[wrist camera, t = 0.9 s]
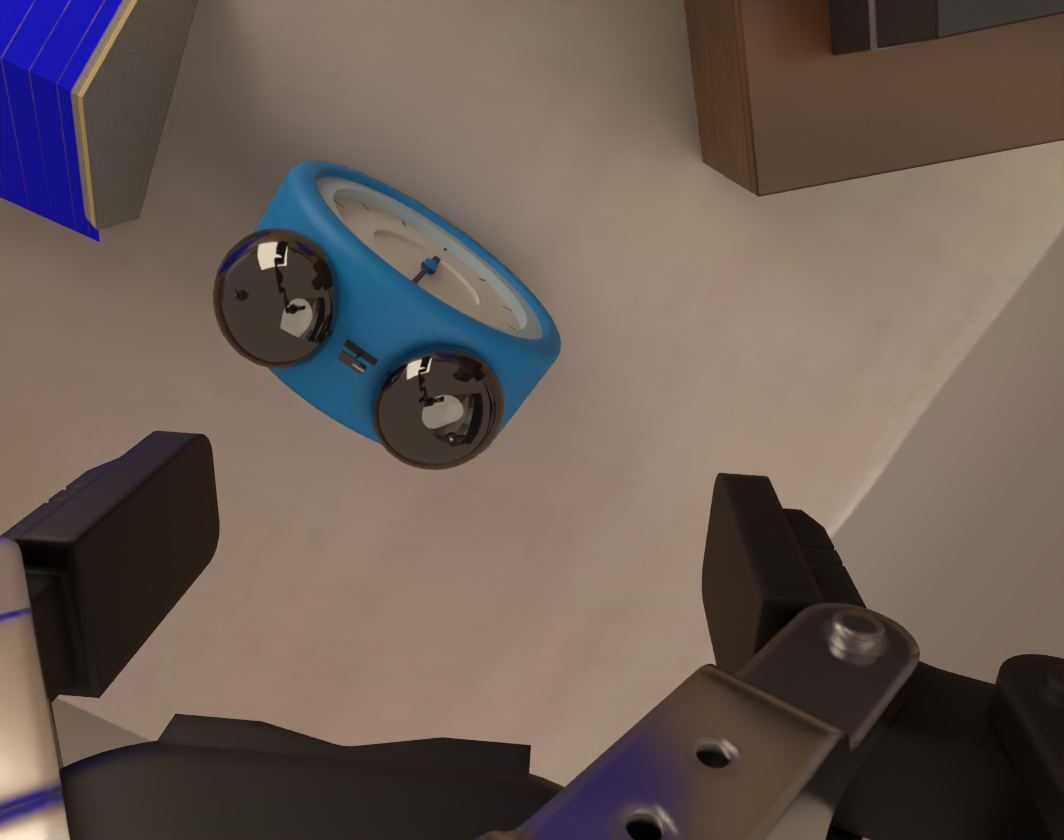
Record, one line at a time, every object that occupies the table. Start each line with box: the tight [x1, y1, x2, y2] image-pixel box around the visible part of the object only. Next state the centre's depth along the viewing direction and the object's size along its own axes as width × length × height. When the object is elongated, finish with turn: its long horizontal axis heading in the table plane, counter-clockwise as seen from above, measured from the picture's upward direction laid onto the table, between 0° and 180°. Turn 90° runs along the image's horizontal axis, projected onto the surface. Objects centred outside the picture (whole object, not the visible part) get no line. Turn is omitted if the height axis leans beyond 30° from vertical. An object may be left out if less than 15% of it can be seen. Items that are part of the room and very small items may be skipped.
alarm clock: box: [213, 161, 561, 470], centre depth 35 cm, size 13×6×15 cm, turn 54°
